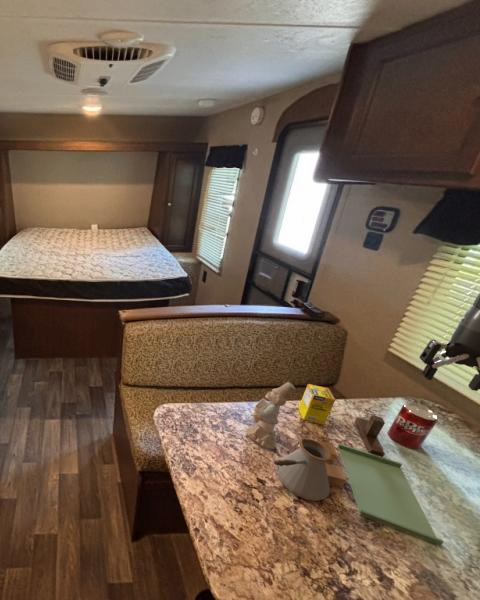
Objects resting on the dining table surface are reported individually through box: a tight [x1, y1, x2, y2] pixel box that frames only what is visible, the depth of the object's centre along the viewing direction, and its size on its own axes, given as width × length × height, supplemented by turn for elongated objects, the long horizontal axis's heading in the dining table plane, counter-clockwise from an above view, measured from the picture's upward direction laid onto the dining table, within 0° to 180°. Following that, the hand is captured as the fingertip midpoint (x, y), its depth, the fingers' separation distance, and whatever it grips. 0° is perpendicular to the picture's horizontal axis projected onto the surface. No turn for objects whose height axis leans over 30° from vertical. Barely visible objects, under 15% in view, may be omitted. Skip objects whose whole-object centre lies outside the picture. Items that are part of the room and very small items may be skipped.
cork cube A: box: [315, 439, 338, 464], centre depth 88 cm, size 4×4×4 cm
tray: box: [337, 443, 444, 546], centre depth 80 cm, size 14×22×2 cm, turn 154°
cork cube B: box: [326, 463, 347, 489], centre depth 81 cm, size 4×4×4 cm
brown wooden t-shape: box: [354, 414, 386, 457], centre depth 93 cm, size 3×14×9 cm, turn 154°
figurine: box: [245, 381, 297, 450], centre depth 91 cm, size 9×8×20 cm
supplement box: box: [298, 383, 336, 426], centre depth 101 cm, size 6×6×11 cm
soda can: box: [386, 403, 438, 451], centre depth 93 cm, size 7×7×12 cm
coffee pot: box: [267, 437, 332, 502], centre depth 76 cm, size 21×12×15 cm, turn 113°
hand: (449, 383), depth 80 cm, fingers open, 8 cm apart
